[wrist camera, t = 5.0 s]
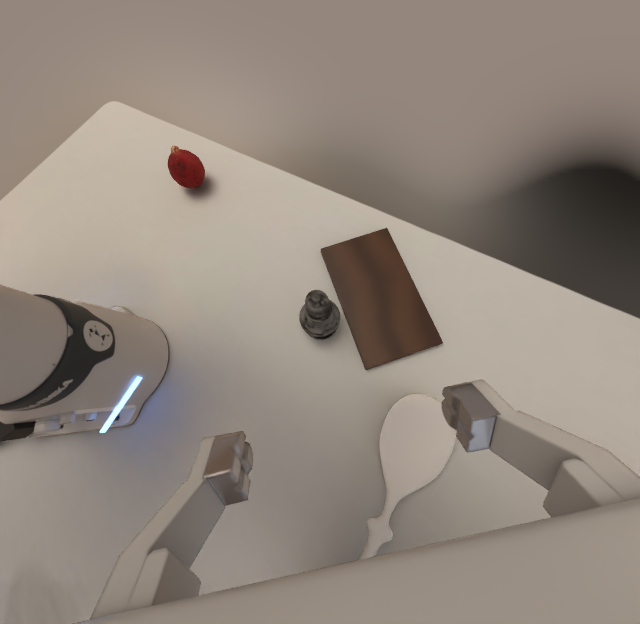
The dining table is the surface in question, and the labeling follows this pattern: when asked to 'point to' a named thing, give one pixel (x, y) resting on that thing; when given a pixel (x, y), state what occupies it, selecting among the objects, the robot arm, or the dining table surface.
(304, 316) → the grey chess piece
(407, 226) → the dining table surface
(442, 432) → the spoon
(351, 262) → the walnut board
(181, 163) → the onion
